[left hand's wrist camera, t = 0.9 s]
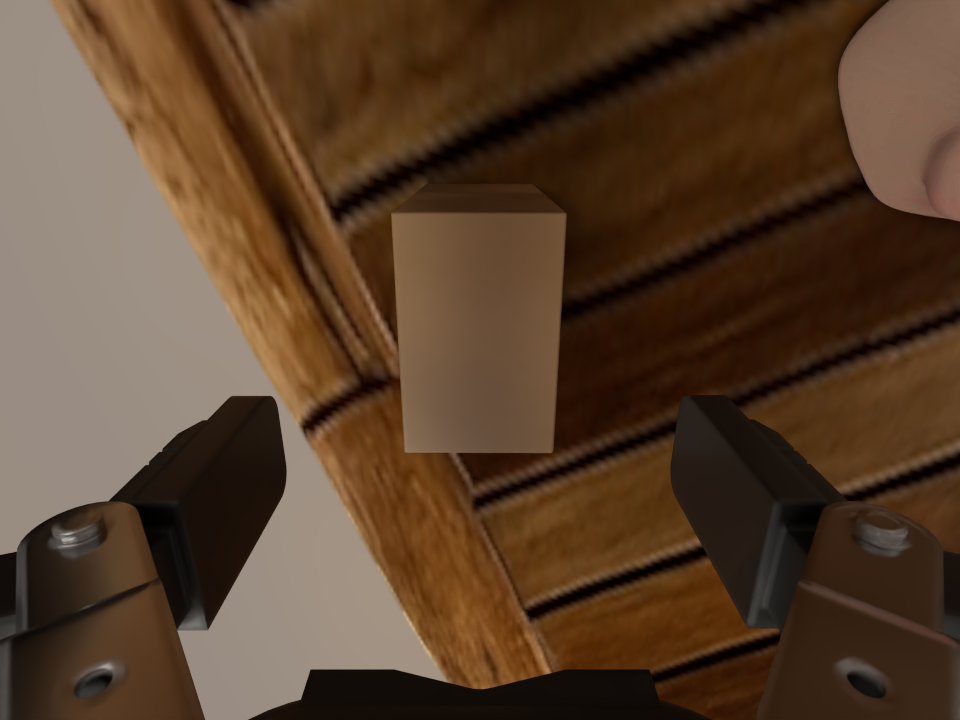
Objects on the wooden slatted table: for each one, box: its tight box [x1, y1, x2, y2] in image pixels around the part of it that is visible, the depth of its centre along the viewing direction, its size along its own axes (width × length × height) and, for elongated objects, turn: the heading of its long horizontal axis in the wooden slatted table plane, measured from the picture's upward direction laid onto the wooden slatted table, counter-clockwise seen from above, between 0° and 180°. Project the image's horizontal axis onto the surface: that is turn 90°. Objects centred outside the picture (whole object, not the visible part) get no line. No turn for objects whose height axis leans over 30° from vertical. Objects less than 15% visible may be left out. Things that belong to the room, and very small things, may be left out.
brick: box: [391, 184, 567, 453], centre depth 21 cm, size 5×7×10 cm, turn 0°
